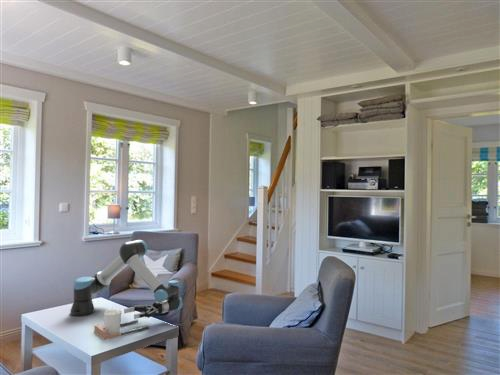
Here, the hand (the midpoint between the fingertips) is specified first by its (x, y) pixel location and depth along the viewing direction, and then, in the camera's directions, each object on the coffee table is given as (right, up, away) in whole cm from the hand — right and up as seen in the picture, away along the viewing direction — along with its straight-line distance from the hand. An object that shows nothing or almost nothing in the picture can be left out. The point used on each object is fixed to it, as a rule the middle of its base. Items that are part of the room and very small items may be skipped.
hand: (129, 313), depth 229 cm
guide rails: (0, -9, 0) cm, 9 cm away
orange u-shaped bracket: (-10, -9, -9) cm, 16 cm away
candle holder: (-8, -9, -7) cm, 14 cm away
